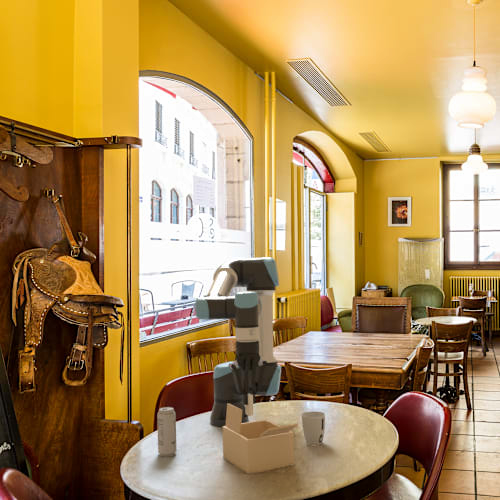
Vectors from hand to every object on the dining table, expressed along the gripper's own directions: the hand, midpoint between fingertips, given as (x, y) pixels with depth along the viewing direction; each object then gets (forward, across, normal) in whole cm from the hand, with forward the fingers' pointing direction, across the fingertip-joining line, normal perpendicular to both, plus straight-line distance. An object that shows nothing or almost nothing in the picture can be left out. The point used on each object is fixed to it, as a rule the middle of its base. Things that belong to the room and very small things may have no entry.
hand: (249, 414), depth 190 cm
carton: (+14, +2, -2) cm, 15 cm away
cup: (+15, +27, +4) cm, 31 cm away
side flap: (0, -5, 0) cm, 5 cm away
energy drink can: (+15, -21, +20) cm, 32 cm away
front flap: (+2, +3, -14) cm, 14 cm away
